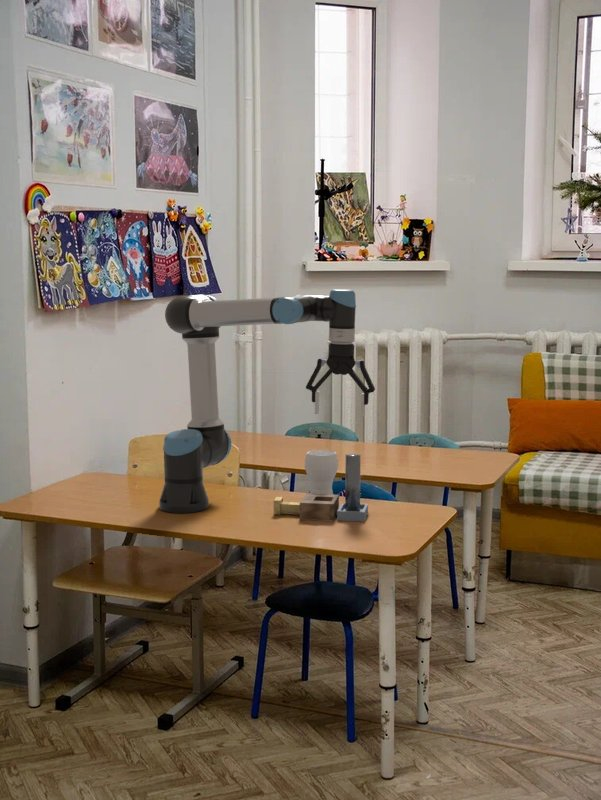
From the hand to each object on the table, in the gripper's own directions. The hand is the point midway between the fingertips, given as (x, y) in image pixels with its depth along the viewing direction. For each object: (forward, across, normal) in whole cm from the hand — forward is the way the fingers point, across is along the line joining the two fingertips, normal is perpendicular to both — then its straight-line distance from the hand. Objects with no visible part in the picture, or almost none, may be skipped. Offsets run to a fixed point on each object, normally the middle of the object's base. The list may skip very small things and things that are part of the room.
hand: (339, 414), depth 296 cm
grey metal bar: (+29, +5, -2) cm, 29 cm away
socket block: (+30, -5, -2) cm, 31 cm away
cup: (+31, -8, +18) cm, 37 cm away
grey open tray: (+30, +5, -2) cm, 31 cm away
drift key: (+30, -12, -2) cm, 33 cm away
